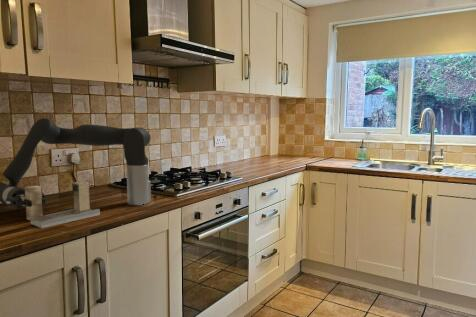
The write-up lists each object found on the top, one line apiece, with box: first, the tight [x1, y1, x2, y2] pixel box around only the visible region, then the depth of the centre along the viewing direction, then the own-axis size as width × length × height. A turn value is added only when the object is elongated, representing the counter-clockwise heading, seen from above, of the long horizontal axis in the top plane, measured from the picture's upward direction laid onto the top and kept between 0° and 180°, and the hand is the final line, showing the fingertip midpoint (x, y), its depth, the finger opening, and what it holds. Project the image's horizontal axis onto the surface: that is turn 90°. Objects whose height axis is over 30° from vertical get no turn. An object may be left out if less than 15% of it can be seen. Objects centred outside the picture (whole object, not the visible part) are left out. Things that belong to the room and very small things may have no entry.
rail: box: [30, 180, 101, 229], centre depth 136 cm, size 22×8×13 cm, turn 143°
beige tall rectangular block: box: [24, 185, 44, 222], centre depth 137 cm, size 4×4×12 cm
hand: (37, 202), depth 135 cm, fingers closed on beige tall rectangular block, 4 cm apart
